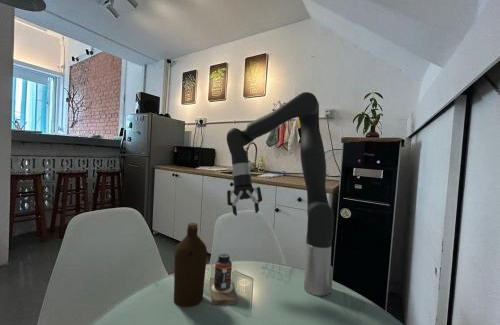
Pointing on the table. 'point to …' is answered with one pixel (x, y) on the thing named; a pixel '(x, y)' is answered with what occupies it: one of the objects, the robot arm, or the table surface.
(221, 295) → the board
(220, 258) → the supplement bottle
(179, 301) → the olive oil
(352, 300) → the table surface
